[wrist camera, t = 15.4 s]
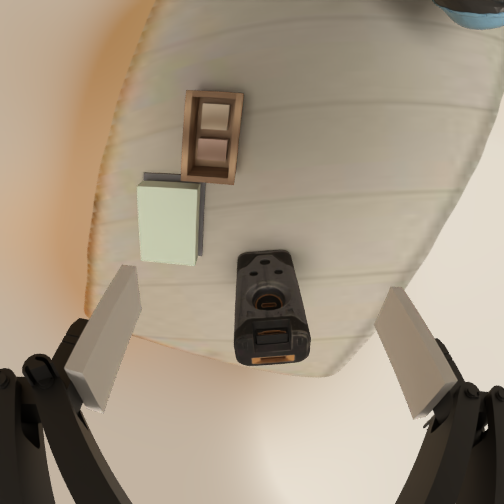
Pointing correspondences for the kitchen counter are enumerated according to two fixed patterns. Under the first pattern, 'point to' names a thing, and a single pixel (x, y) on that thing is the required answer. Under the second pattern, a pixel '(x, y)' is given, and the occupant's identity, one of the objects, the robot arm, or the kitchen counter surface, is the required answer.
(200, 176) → the crate
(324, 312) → the kitchen counter surface
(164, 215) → the block
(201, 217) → the mat
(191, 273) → the kitchen counter surface
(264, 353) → the electronic device
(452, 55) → the kitchen counter surface
